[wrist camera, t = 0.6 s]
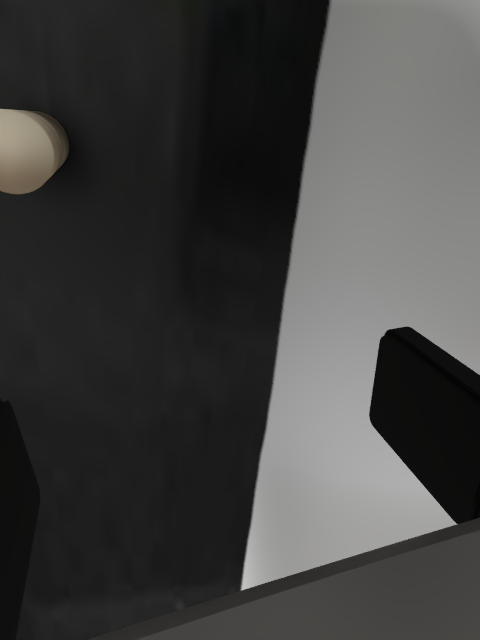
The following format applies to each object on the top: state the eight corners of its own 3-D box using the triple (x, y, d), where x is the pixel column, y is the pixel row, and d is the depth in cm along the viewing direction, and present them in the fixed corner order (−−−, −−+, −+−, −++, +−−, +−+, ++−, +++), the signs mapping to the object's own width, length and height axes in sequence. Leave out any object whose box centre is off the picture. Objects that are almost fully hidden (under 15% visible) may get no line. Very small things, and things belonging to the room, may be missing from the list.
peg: (1, 110, 28) (-47, 108, 20) (64, 111, 29) (45, 109, 21) (14, 172, 30) (-24, 195, 21) (73, 171, 31) (59, 192, 22)
